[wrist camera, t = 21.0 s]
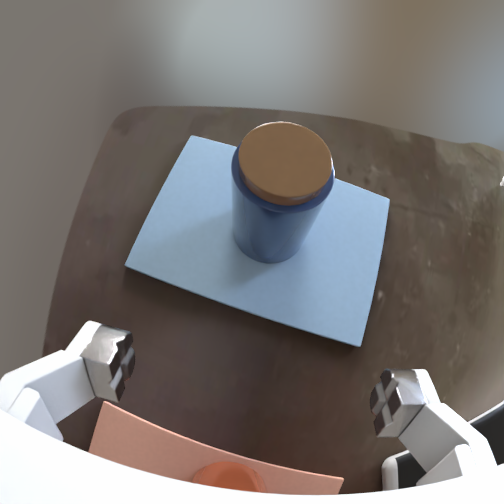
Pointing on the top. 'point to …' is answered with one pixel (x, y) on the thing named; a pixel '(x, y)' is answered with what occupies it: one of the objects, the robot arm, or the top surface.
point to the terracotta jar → (230, 477)
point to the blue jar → (278, 189)
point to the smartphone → (410, 471)
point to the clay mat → (188, 455)
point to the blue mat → (256, 273)
